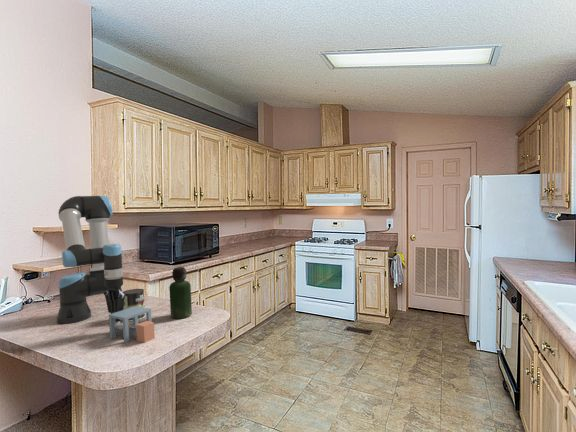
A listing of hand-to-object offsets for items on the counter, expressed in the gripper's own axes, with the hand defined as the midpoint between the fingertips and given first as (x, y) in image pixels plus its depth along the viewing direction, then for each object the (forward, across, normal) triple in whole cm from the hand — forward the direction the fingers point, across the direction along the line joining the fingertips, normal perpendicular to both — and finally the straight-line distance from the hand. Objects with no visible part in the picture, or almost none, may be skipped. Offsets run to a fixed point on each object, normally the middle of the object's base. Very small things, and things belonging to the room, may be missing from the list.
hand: (116, 328), depth 150 cm
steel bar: (+2, +10, -1) cm, 10 cm away
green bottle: (+2, +12, +28) cm, 30 cm away
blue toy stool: (+1, +11, 0) cm, 11 cm away
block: (+1, +21, -1) cm, 21 cm away
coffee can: (+2, -8, +15) cm, 18 cm away
